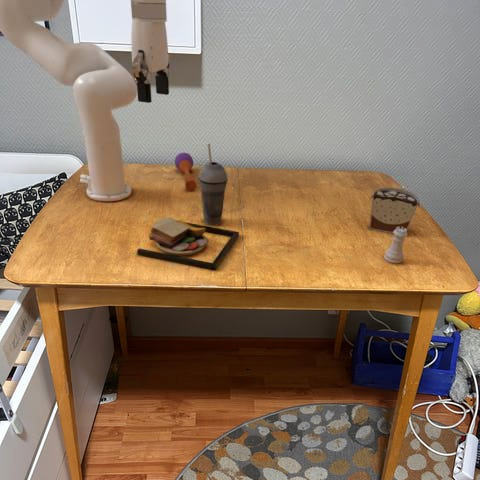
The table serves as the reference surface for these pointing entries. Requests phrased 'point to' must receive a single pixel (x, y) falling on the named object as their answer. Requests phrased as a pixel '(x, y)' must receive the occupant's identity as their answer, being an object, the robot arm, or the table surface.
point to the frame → (193, 262)
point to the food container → (392, 209)
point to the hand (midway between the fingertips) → (154, 97)
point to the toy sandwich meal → (177, 237)
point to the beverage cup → (212, 190)
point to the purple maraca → (186, 169)
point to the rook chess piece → (396, 246)
